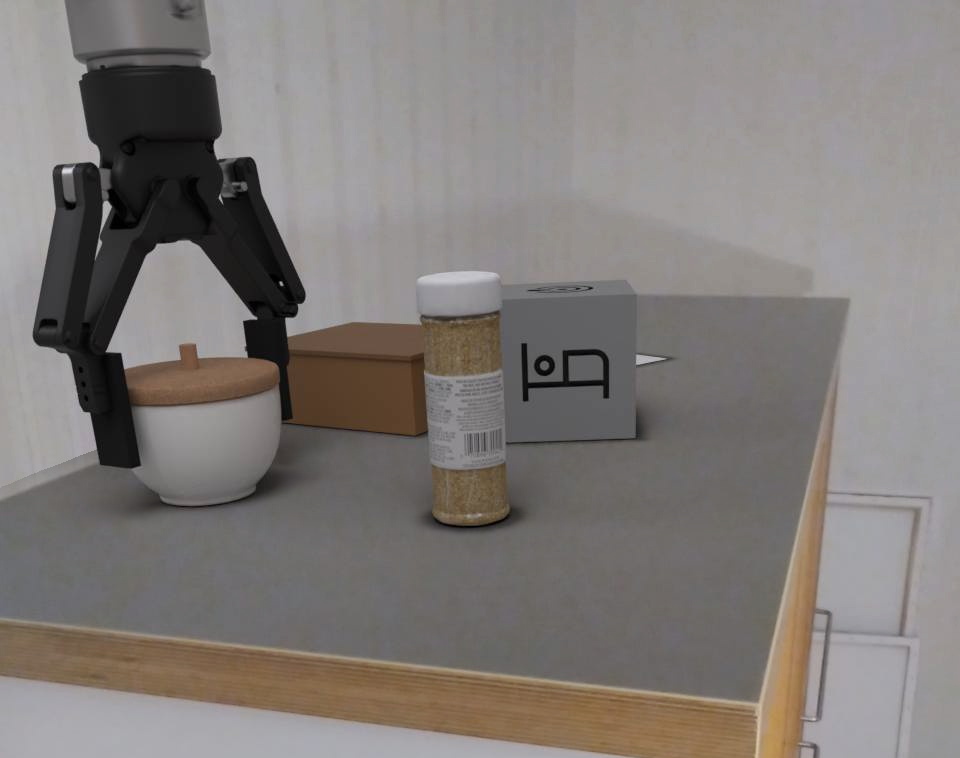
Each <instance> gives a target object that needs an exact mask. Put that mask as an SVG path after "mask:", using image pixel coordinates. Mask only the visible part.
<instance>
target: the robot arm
mask: <svg viewBox="0 0 960 758" xmlns="http://www.w3.org/2000/svg"><path fill="white" fill-rule="evenodd" d="M64 7H65V12H66V19H67V25H68V32H69V36H70V41H71V42H70V43H71V50H72V55H73V58H74V59H75V61H77V62H78V63H79V64H82V65H85V66H86V72H85V73H82V74H81V79H80V80H78V87H79V91H80V98H81V104H82V109H83V114H84V120H85V126H86V132H87V137H88V139H89V141H90V142H91V143H92V144H94V145H96V147H97V148H98V153H99V163H98V164H99V165H98V166H97V164H95V163H94V162H91V161H85V162H72V163H61V164H56V165H55V166H54V167H53V169H52V173H51V174H52V175H51V176H52V185H53V197H54V205H55V209H54V216H53V221H52V225H51V232H50V236H49V242H48V247H47V253H46V258H45V264H44V268H43V275H42V280H41V285H40V291H39V294H38V295H39V296H38V301H37V306H36V312H35V316H34V322H33V327H32V339H33V342H34V344H36V345H37V346H38V347H41V348H49V349H52V350H55V351H56V352H57V353H59V354H65V355H67V356H68V358H69V360H70V365H71V368H72V374H73V379H74V385H75V390H76V393H77V400H78V405H79V406H80V409H81V410H82V412H83V413H89V416H90V421H91V426H92V431H93V436H94V442H95V447H96V451H97V457H98V463H99V466H104V467H113V468H119V469H120V468H121V469H129V470H130V469H133V468H136V467H139V466H141V462H140V456H139V450H138V444H137V439H136V433H135V427H134V422H133V416H132V410H131V405H130V399H129V393H128V388H127V382H126V376H125V371H124V369H125V365H124V360H123V359H124V358H123V354H122V352H115V351H114V352H113V351H108V348H109V346H110V344H111V341H112V339H113V336H114V333H115V331H116V329H117V327H118V325H119V322H120V319H121V317H122V314H123V313H124V311H125V308H126V305H127V302H128V300H129V298H130V295H131V293H132V290H133V288H134V285H135V283H136V280H137V278H138V276H139V274H140V271H141V268H142V266H143V264H144V263H145V259H146V258H147V255H149V254H150V253H152V252H153V251H154V250H155V248H156V247H157V245H161V244H163V245H164V244H165V245H166V244H174V243H177V242H182V241H183V242H184V241H185V242H186V241H189V242H191V243H192V244H194V245H196V246H198V247H199V248H200V249H201V250H202V252H203V253H204V254H205V255H206V257H207V258H208V260H210V263H212V264H213V266H214V267H215V268H216V270H217V271H218V272H219V273H220V275H221V276H222V277H223V278H224V280H225V281H226V282H227V284H228V285H229V286H230V288H231V289H232V290H233V291H234V293H235V294H236V295H237V297H238V298H239V300H240V301H241V302H242V303H243V305H244V306H245V307H246V309H248V311H249V312H250V314H251V315H252V316H253V317H255V318H256V319H254V318H253V319H251V318H250V319H245V320H242V325H243V331H244V333H243V334H244V340H245V346H246V348H247V352H246V355H247V358H256V359H263V360H268V361H271V362H273V363H275V364H277V366H278V367H279V374H280V382H279V391H280V400H281V420H282V421H287V420H290V419H293V414H292V406H291V397H290V389H289V381H288V373H287V366H289V360H290V355H289V349H288V348H289V347H288V343H287V342H288V338H287V337H288V332H287V331H288V330H287V323H286V321H287V320H286V319H294V318H296V317H297V316H298V313H299V305H302V304H304V303H305V302H306V298H307V295H306V294H307V293H306V290H305V287H304V285H303V283H302V281H301V278H300V275H299V274H298V271H297V269H296V267H295V265H294V263H293V261H292V258H291V255H290V253H289V252H288V249H287V247H286V244H285V242H284V240H283V238H282V236H281V233H280V231H279V229H278V227H277V224H276V222H275V220H274V218H273V215H272V212H271V211H270V209H269V207H268V204H267V202H266V200H265V197H264V195H263V192H262V187H261V183H260V181H261V180H260V177H259V172H258V166H257V163H256V161H255V159H254V158H253V157H252V156H238V157H225V158H224V157H223V158H219V159H218V158H217V155H216V152H215V142H216V140H218V139H220V137H221V136H222V133H223V125H222V124H223V123H222V117H221V108H220V102H219V101H220V100H219V95H218V85H217V79H216V78H217V77H216V75H215V74H212V71H211V70H210V69H209V68H206V67H203V63H202V61H205V60H207V59H208V58H209V56H211V55H212V47H211V39H210V32H209V26H208V25H209V24H208V18H207V17H208V16H207V9H206V3H205V0H64ZM105 202H108V204H109V205H110V206H111V208H110V210H109V212H108V214H107V217H106V219H105V222H104V224H102V223H103V216H104V215H103V214H104V213H103V212H104V203H105ZM102 225H103V226H102ZM99 240H100V242H101V245H100V247H99V250H98V245H99ZM97 251H98V252H97ZM281 284H282V285H281Z"/></svg>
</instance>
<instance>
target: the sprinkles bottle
mask: <svg viewBox="0 0 960 758" xmlns="http://www.w3.org/2000/svg"><path fill="white" fill-rule="evenodd" d="M501 278H502V277H501V276H500V275H499V274H498V273H496V272H492V271H482V270H464V271H462V270H460V271H458V270H457V271H447V272H437V273H432V274H427V275H424V276H423V275H422V276H421V277H419V278H417V280H416V281H415V287H416V288H415V293H416V308H417V313H418V314H420V316H419V322H420V324H421V325H422V331H423V332H422V334H423V349H424V362H425V370H424V378H425V393H426V408H427V422H428V431H427V436H428V448H429V453H428V454H429V461H430V466H431V477H432V478H431V479H432V493H433V494H432V495H433V507H432V516H433V517H434V518H435V519H436V520H438V522H441V523H443V524H446V525H452V526H463V527H465V526H467V527H468V526H486V525H489V524H492V523H496V522H498V521H500V520H502V519H504V518H506V517H507V515H508V514H510V510H511V507H510V503H509V500H508V489H507V487H508V484H507V463H506V460H507V445H506V439H505V410H504V386H503V370H502V359H501V341H500V317H501V312H500V311H499V310H500V309H501V308H502V289H501V285H502V279H501Z"/></svg>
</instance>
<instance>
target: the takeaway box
mask: <svg viewBox="0 0 960 758" xmlns="http://www.w3.org/2000/svg"><path fill="white" fill-rule="evenodd" d="M422 332H423V331H422V324H421V323H420V324H416V323H415V324H414V323H394V322H393V323H390V322H363V321H352V322H347V323H344V324H343V323H342V324H339V325H338V324H337V325H334V326H330V327H329V326H328V327H325V328H320V329H316V330H311V331H307V332H303V333H298V334H295V335H290V336H287V338H288V342H287V343H288V347H289V348H288V349H289V355H290V360H289V366H287V373H288V381H289V389H290V397H291V406H292V414H293V419H290V420H287V421H282V420H281V424H292V425H301V426H303V425H304V426H314V427H323V428H333V429H345V430H353V431H354V430H355V431H365V432H374V433H384V434H393V435H404V436H414V437H415V436H418V435H421V434H424V433H426V432H428V422H427V408H426V393H425V378H424V370H425V362H424V349H423V334H422ZM244 352H246V353H247V348H246V345H245V346H244Z"/></svg>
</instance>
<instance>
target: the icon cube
mask: <svg viewBox="0 0 960 758" xmlns="http://www.w3.org/2000/svg"><path fill="white" fill-rule="evenodd" d="M501 289H502V308H501V309H500V310H499V311H500V312H501V317H500V341H501V359H502V370H503V386H504V410H505V439H506V443H533V442H534V443H535V442H536V443H537V442H538V443H539V442H564V441H591V440H592V441H594V440H597V441H598V440H621V439H622V440H623V439H624V440H625V439H636V434H637V433H636V432H637V431H636V429H637V428H636V427H637V425H636V424H637V421H636V420H637V365H636V355H637V335H638V334H637V325H638V321H637V320H638V319H637V318H638V294H637V292H636V291H635V289H634V288H633V287H632V285H631V284H630V283H629V282H628V280H627V279H609V280H607V279H606V280H605V279H604V280H582V281H562V282H561V281H559V282H557V281H556V282H538V283H537V282H536V283H535V282H534V283H512V284H511V283H510V284H501Z"/></svg>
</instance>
